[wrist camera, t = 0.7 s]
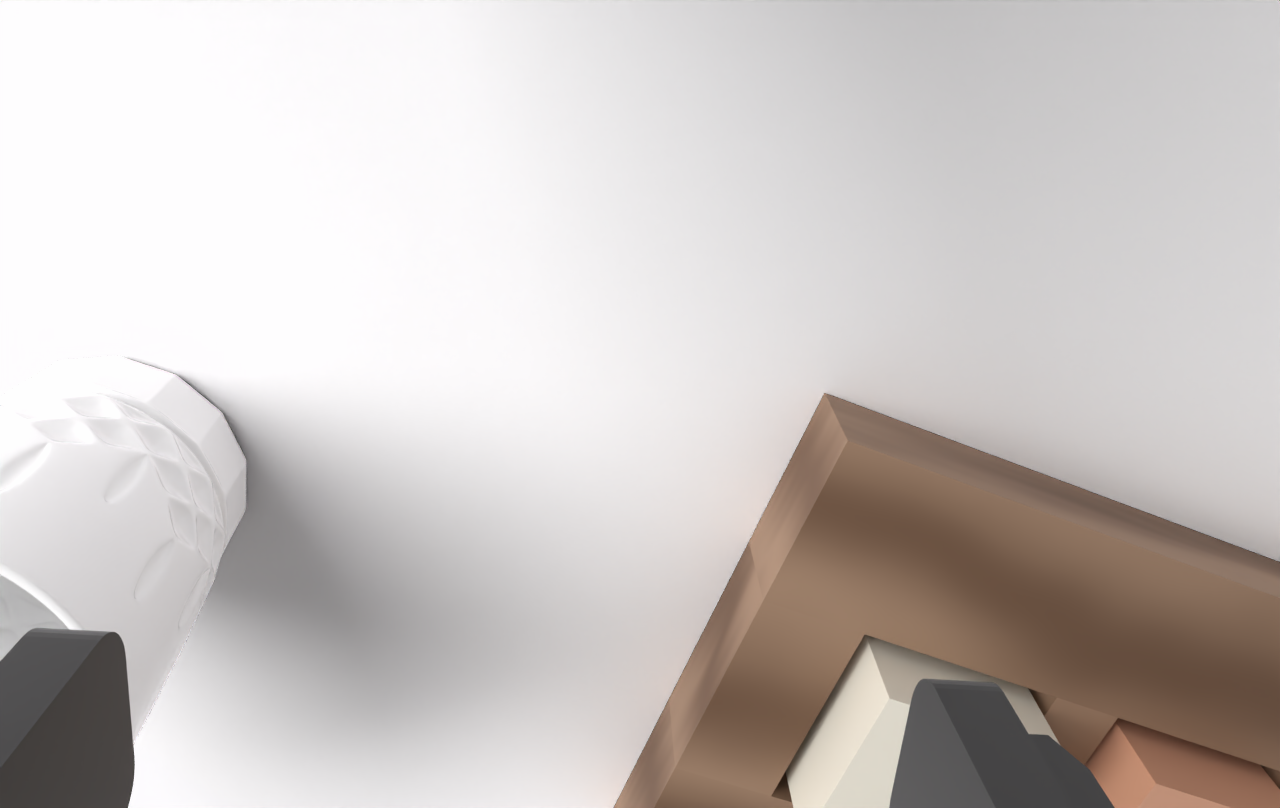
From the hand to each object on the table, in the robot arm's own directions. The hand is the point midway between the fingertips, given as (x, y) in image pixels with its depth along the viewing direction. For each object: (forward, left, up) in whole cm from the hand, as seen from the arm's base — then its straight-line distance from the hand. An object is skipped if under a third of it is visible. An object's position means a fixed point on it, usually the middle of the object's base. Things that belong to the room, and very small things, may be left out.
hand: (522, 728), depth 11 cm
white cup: (+10, -9, -18) cm, 23 cm away
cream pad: (+9, +14, -16) cm, 23 cm away
